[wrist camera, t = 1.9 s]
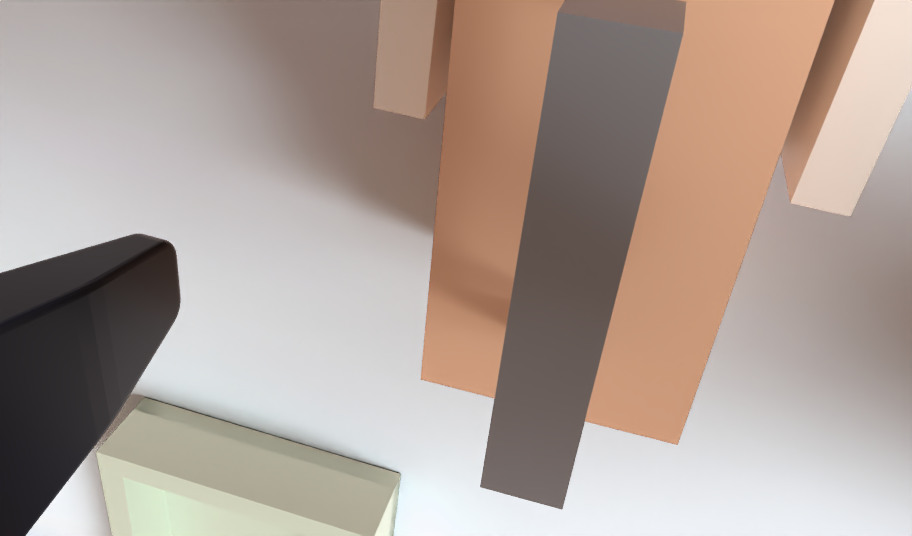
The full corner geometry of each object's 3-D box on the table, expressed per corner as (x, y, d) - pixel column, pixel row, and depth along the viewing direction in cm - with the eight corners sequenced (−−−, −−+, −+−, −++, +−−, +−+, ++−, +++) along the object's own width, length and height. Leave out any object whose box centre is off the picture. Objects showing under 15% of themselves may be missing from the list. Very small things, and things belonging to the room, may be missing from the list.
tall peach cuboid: (835, -186, 13) (978, -127, 6) (684, 296, 19) (670, 614, 12) (542, -221, 14) (377, -204, 7) (480, 251, 20) (353, 522, 13)
